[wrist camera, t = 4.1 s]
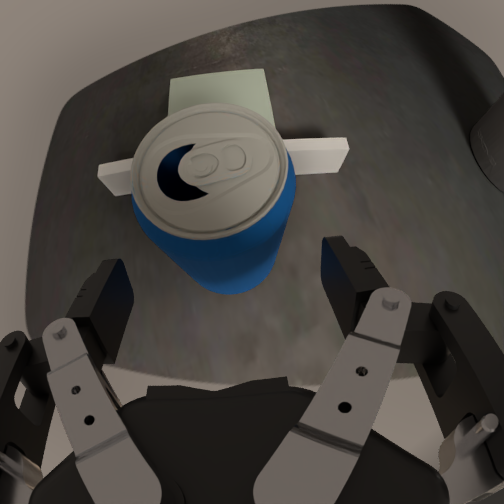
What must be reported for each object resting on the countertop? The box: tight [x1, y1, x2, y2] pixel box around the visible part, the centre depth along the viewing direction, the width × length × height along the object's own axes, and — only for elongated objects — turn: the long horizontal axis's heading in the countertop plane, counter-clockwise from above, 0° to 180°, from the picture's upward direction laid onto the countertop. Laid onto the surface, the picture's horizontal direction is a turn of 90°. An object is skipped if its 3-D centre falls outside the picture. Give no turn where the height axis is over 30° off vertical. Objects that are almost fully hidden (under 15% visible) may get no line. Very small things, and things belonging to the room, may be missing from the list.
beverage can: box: [130, 103, 296, 294], centre depth 16 cm, size 6×6×12 cm
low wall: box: [98, 138, 349, 196], centre depth 22 cm, size 18×1×4 cm, turn 96°
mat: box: [168, 69, 275, 127], centre depth 25 cm, size 9×9×1 cm
